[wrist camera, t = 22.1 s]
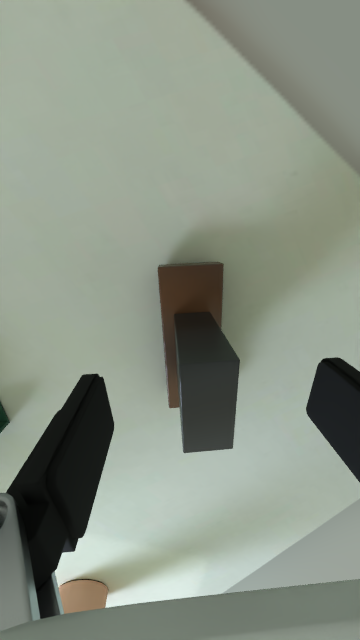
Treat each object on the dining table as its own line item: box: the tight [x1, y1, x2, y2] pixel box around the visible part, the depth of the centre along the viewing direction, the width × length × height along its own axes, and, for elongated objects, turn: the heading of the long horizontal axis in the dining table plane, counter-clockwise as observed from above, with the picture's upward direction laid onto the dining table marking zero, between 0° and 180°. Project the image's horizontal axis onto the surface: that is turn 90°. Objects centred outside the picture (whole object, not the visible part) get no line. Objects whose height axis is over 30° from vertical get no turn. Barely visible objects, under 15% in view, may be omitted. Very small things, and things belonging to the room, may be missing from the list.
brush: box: [158, 262, 240, 453], centre depth 12 cm, size 11×4×7 cm, turn 2°
